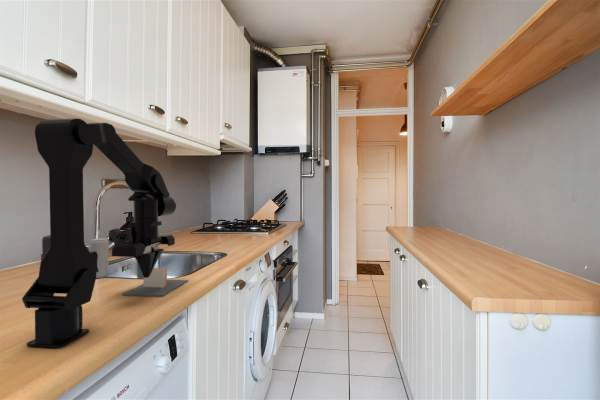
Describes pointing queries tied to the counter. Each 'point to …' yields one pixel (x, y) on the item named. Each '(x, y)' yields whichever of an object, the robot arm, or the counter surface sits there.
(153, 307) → the counter surface
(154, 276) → the tile
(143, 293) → the mat
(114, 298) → the counter surface
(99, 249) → the beverage can
